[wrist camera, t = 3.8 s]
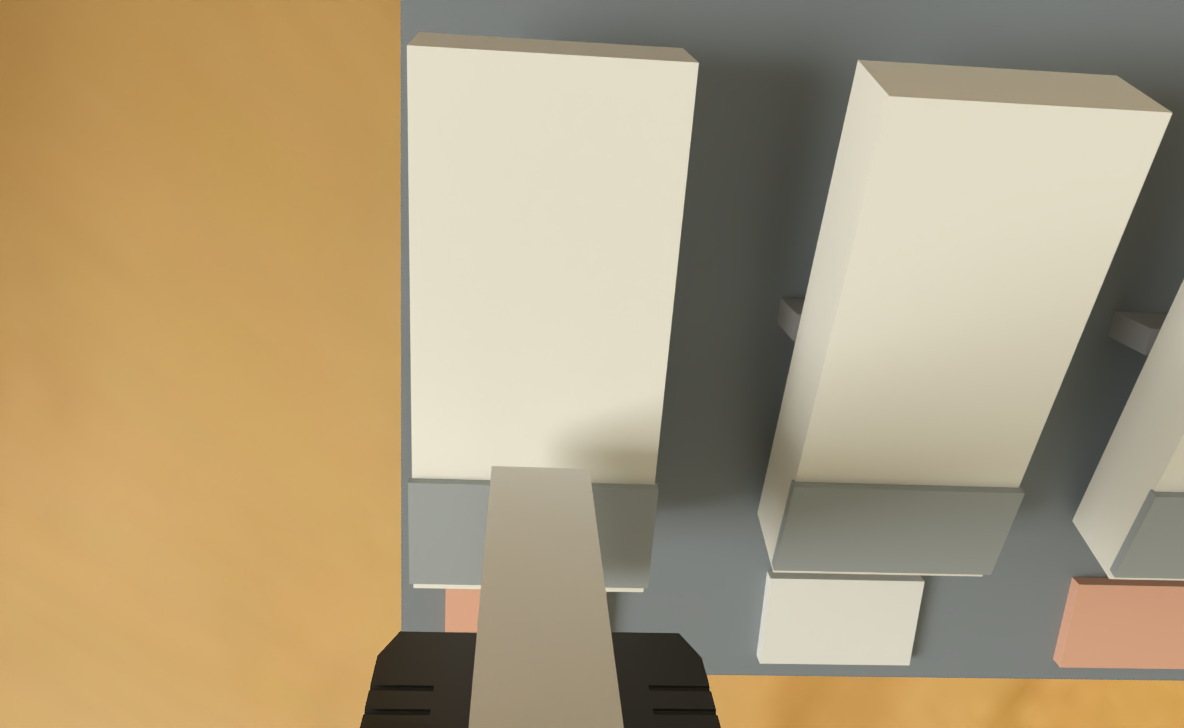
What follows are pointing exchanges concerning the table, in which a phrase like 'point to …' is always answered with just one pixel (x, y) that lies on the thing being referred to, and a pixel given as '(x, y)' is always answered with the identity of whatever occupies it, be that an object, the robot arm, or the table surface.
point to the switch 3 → (1143, 471)
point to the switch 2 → (946, 309)
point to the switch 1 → (540, 282)
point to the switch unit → (771, 320)
